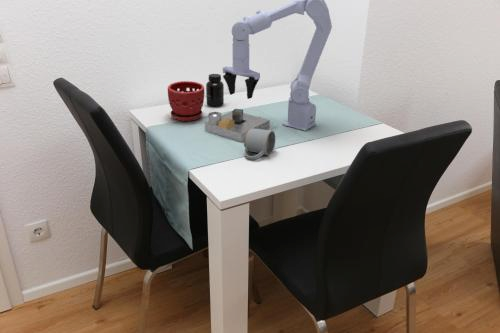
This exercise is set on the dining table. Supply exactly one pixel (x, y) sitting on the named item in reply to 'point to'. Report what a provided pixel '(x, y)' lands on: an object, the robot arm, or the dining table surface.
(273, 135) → the ceramic mug
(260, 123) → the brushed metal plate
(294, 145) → the dining table surface
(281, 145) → the dining table surface
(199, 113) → the plant pot
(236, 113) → the metal block
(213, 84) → the supplement bottle
